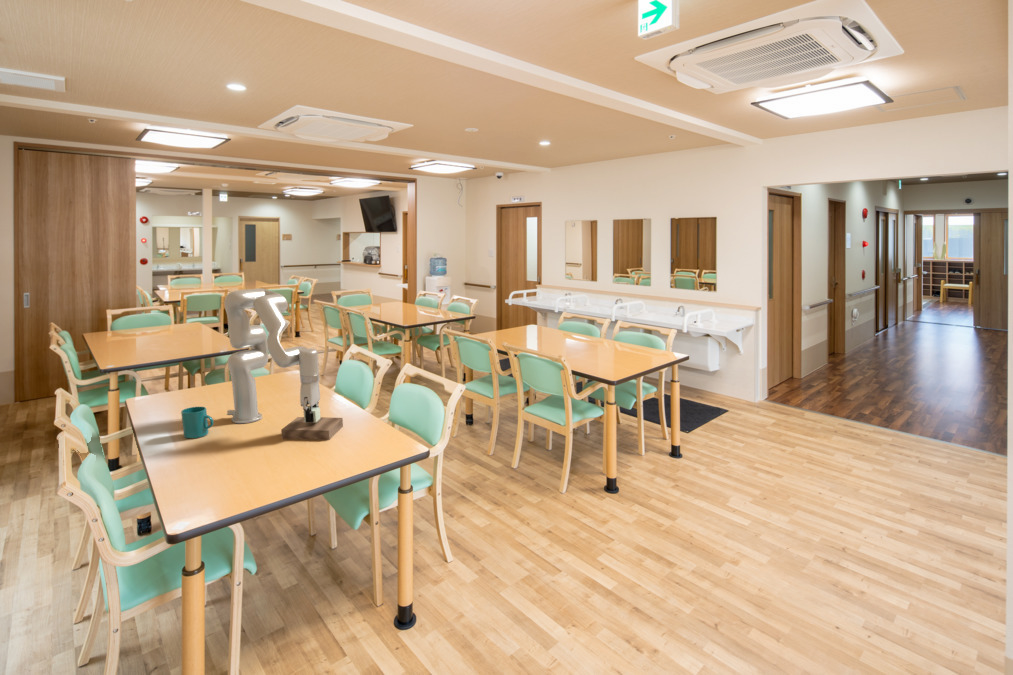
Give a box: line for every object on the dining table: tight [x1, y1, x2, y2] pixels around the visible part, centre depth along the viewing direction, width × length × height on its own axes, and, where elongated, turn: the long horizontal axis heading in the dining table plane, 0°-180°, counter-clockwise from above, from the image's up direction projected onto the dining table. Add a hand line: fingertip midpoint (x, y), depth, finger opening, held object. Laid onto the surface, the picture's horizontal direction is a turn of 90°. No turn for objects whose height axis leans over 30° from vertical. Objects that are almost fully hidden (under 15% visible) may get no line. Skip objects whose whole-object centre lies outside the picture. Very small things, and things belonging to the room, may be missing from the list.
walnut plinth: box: [280, 416, 344, 441], centre depth 228 cm, size 20×16×4 cm
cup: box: [180, 406, 215, 439], centre depth 223 cm, size 9×12×11 cm
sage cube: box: [303, 406, 321, 423], centre depth 227 cm, size 5×5×5 cm
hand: (312, 419), depth 227 cm, fingers closed on sage cube, 4 cm apart
